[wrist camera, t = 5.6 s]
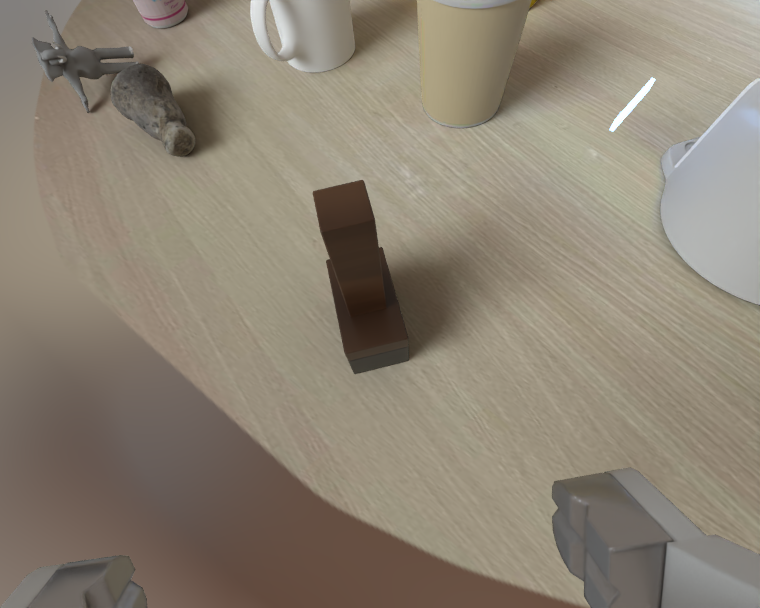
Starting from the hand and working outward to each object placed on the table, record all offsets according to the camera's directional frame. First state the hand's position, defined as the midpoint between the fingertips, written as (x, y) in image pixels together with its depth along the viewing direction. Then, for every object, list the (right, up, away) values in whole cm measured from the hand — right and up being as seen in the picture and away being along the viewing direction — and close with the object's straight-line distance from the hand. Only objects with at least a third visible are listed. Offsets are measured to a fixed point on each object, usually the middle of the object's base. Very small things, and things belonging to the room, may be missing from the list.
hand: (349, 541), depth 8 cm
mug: (-7, +32, +37) cm, 49 cm away
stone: (-21, +23, +33) cm, 46 cm away
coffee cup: (+9, +25, +32) cm, 41 cm away
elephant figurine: (-31, +30, +38) cm, 57 cm away
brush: (0, +3, +22) cm, 22 cm away
